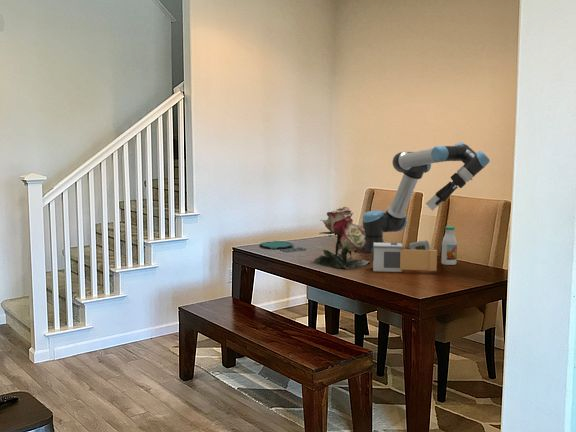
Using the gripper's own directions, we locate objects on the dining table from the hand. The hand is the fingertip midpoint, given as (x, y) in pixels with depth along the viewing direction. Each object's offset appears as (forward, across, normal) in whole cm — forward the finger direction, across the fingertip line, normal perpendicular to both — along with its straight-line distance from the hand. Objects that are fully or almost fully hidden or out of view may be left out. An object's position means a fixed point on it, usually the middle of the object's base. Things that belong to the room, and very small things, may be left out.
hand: (428, 207), depth 299 cm
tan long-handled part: (+25, -7, -18) cm, 32 cm away
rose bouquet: (+52, +12, +6) cm, 54 cm away
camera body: (+36, -2, -9) cm, 38 cm away
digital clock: (+24, +22, -23) cm, 40 cm away
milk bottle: (+13, +17, -32) cm, 39 cm away
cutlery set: (+81, +54, +33) cm, 103 cm away
